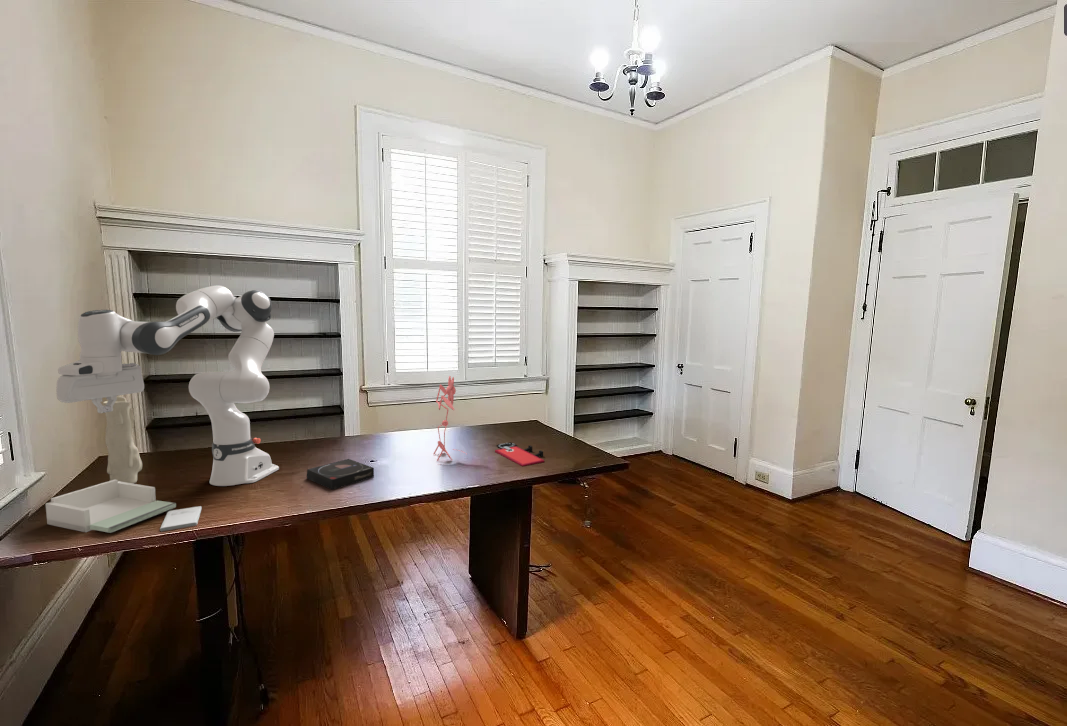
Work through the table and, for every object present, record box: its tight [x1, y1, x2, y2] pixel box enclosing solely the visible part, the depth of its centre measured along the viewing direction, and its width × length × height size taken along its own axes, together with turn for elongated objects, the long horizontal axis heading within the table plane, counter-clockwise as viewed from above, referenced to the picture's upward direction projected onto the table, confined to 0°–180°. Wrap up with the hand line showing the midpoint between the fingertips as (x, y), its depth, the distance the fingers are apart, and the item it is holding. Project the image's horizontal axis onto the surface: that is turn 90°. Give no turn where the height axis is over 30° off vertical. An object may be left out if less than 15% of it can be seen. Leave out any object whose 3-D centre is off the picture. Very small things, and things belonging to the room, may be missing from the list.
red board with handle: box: [494, 441, 545, 467], centre depth 203 cm, size 30×3×15 cm
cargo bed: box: [45, 480, 157, 533], centre depth 133 cm, size 18×15×7 cm
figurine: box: [433, 375, 468, 466], centre depth 195 cm, size 15×26×35 cm, turn 22°
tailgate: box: [90, 499, 177, 534], centre depth 130 cm, size 17×1×8 cm
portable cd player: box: [306, 458, 375, 491], centre depth 168 cm, size 16×17×4 cm
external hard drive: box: [159, 505, 202, 532], centre depth 132 cm, size 2×8×12 cm
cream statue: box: [102, 395, 143, 484], centre depth 156 cm, size 9×8×30 cm
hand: (105, 412), depth 134 cm, fingers closed
